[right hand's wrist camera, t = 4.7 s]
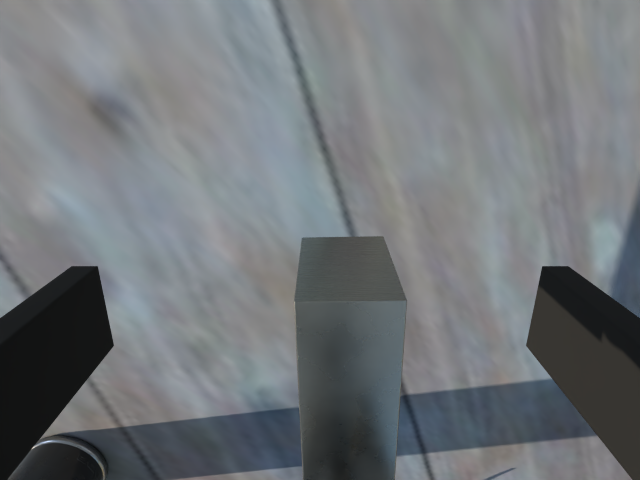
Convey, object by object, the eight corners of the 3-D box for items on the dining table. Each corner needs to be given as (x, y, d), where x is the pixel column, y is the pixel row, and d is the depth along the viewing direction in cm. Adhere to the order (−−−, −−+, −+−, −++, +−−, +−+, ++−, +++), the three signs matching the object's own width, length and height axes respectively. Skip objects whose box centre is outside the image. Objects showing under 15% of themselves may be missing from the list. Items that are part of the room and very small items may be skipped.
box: (301, 237, 30) (293, 301, 21) (383, 236, 30) (407, 300, 21) (311, 471, 38) (307, 581, 30) (373, 471, 38) (387, 581, 30)
